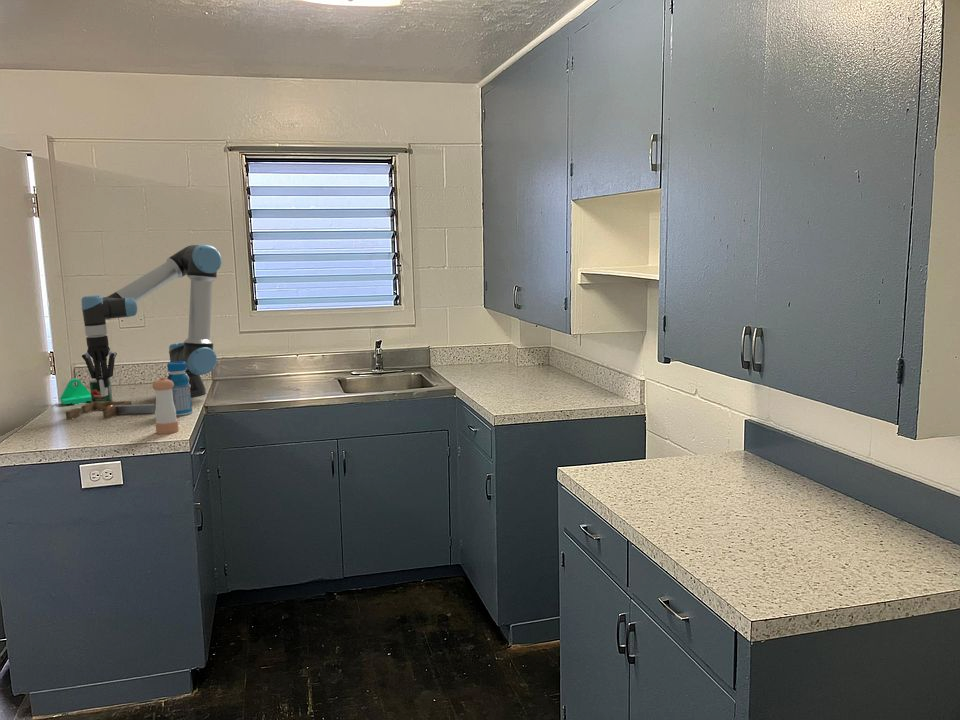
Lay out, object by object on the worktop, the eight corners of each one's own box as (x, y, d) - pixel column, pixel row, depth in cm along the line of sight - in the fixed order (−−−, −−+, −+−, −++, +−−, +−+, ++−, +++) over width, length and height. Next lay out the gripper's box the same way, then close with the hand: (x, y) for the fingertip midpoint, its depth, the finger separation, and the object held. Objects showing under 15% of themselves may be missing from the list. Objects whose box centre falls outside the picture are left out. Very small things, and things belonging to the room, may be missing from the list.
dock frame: (131, 408, 321) (131, 400, 321) (107, 418, 302) (106, 411, 302) (93, 409, 322) (92, 401, 322) (66, 419, 303) (65, 412, 302)
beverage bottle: (182, 416, 301) (177, 364, 298) (164, 415, 304) (159, 364, 301) (197, 412, 309) (193, 361, 306) (180, 411, 312) (175, 360, 309)
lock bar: (155, 411, 312) (154, 403, 311) (151, 413, 309) (151, 404, 308) (112, 412, 313) (111, 404, 312) (107, 414, 309) (106, 405, 309)
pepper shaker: (181, 428, 281) (176, 375, 278) (174, 433, 274) (169, 378, 271) (160, 429, 281) (155, 376, 278) (153, 434, 273) (147, 379, 271)
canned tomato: (109, 403, 333) (106, 377, 331) (116, 405, 327) (113, 379, 326) (89, 406, 327) (86, 380, 326) (96, 409, 322) (93, 382, 320)
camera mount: (64, 406, 330) (61, 382, 329) (60, 404, 336) (57, 380, 335) (95, 402, 338) (93, 378, 336) (91, 400, 344) (88, 376, 342)
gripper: (118, 333, 310) (125, 393, 314) (85, 335, 311) (93, 394, 314) (108, 336, 303) (116, 397, 306) (75, 338, 303) (83, 398, 307)
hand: (104, 395), depth 310 cm, fingers closed
